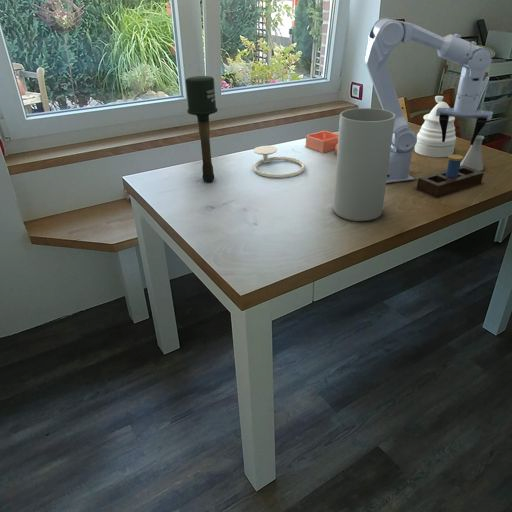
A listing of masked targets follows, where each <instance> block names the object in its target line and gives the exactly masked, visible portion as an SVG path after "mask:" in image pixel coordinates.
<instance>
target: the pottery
mask: <svg viewBox="0 0 512 512" xmlns="http://www.w3.org/2000/svg"><path fill="white" fill-rule="evenodd" d="M338 137H339V133H335V132H332V131H328V130H322V131H318V132H313V133H310V134H306V135H305V147H306V148H308V149H311V150H313V151H317V152H318V153H319V152H320V153H322V154H324V153H328V152H330V151H334V152H335V155H336V156H337V152H338Z"/></svg>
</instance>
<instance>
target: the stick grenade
mask: <svg viewBox="0 0 512 512" xmlns="http://www.w3.org/2000/svg"><path fill="white" fill-rule="evenodd" d="M215 87H216V86H215V79H214V77H213V76H209V75H195V76H190V77H187V78H186V79H185V89H186V98H187V110H186V111H187V114H188V115H191V116H192V115H193V116H196V118H197V126H198V127H197V128H198V134H199V137H200V148H201V158H202V165H201V167H202V169H201V170H202V175H201V176H202V180H203V181H204V182H205V183H211V182H213V181H215V173H214V166H213V163H212V153H211V152H212V151H211V141H210V140H211V139H210V135H211V129H210V115H212V114H215V113H217V112H218V107H217V103H216V102H217V101H216V90H215V89H216V88H215Z"/></svg>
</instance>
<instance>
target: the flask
mask: <svg viewBox="0 0 512 512" xmlns="http://www.w3.org/2000/svg"><path fill="white" fill-rule="evenodd" d="M484 139H485V136H483V135H477V137H476V138H475V141H474V143H473V145H470V147H469V149H468V150H467V152H466V153H465V155H464V156H463V160H462V161H461V164H460V166H462V165H464V166H466V167H469V168H472V169H475V170H478V171H481V172H482V171H483V170H484V163H483V153H482V144H483V140H484Z"/></svg>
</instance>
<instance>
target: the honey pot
mask: <svg viewBox="0 0 512 512" xmlns="http://www.w3.org/2000/svg"><path fill="white" fill-rule="evenodd" d="M434 100H435V102H436V103H437V104H435V106H434V107H433V108H432V109H431V111H430V112H429V113H426V114H424V115H423V120H424V122H423V123H422V125H421V127H420V129H419V131H418V133H417V134H416V136H417V142H416V145H415V146H414V148H413V151H414V152H415V153H416V154H419V156H424V157H430V158H448V156H449V155H452V154H454V153H455V152H454V151H455V147H456V141H457V136H456V126H455V120H456V117H450V116H449V120H448V125H447V131H446V138H445V142H442V130H441V125H440V122H439V117H440V116H436V111H437V108H451V107H450V106H449V104H448V103H447V102H445V101H443V100H444V96H443V95H436V96H434Z"/></svg>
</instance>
